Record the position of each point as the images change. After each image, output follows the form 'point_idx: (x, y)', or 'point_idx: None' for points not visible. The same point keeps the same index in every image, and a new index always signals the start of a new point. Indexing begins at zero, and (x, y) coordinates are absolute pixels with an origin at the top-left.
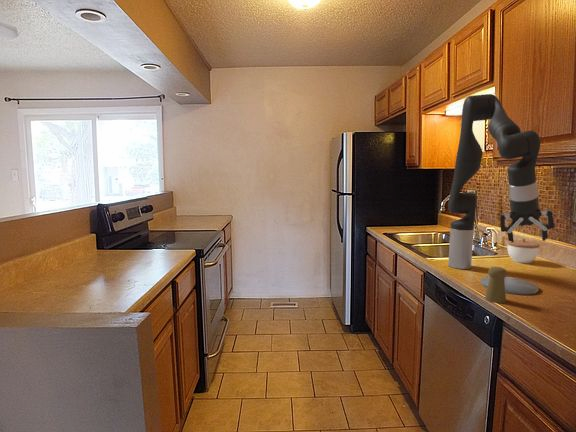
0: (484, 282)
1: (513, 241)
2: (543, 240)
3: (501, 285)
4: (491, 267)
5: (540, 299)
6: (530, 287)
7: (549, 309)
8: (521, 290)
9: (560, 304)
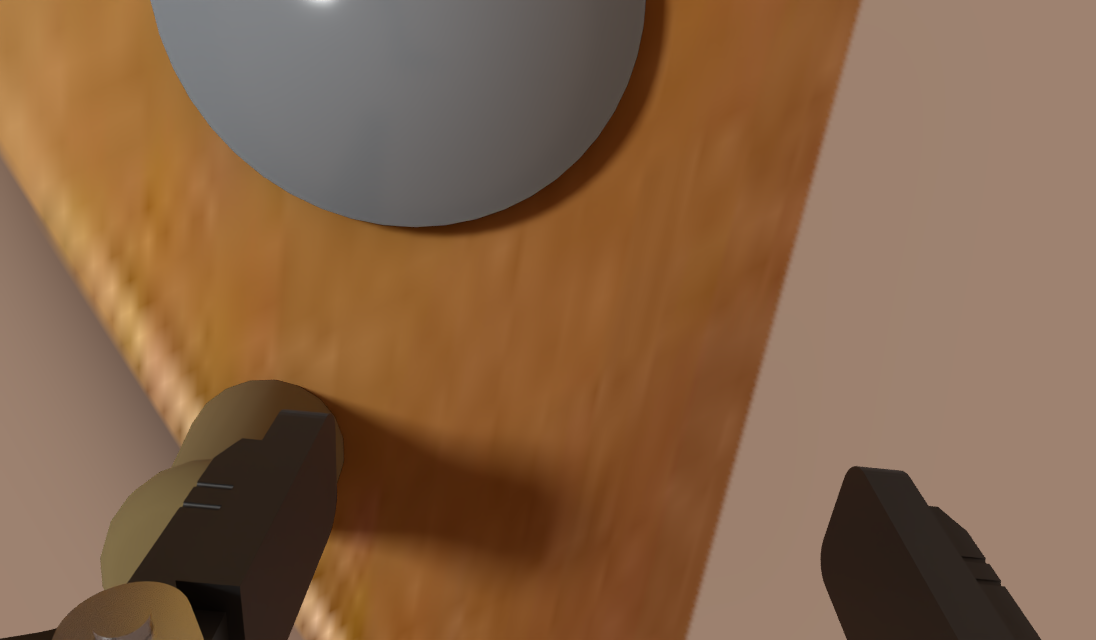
0: (178, 59)
1: (325, 535)
2: (832, 576)
3: None
4: (118, 569)
5: (602, 279)
6: (578, 57)
7: (612, 487)
8: (488, 192)
9: (709, 337)
